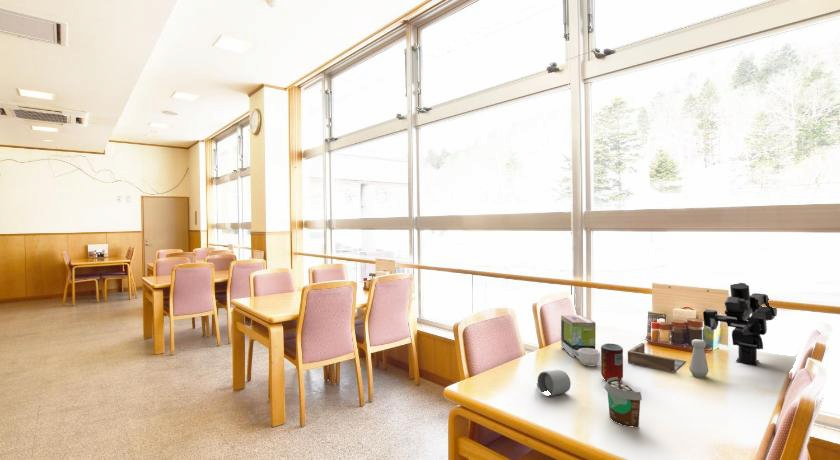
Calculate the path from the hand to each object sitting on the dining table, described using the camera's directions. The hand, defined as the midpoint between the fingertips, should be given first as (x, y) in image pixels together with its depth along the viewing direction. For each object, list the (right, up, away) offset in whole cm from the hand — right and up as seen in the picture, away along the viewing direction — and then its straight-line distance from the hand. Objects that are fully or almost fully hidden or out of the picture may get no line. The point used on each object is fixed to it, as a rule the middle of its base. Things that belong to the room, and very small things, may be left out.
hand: (726, 331), depth 152 cm
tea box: (-42, -17, +31) cm, 54 cm away
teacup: (-44, -17, +16) cm, 50 cm away
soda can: (-42, -17, -2) cm, 45 cm away
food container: (-54, -18, -32) cm, 65 cm away
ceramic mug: (-66, -18, -12) cm, 70 cm away
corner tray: (-15, -16, +17) cm, 28 cm away
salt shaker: (-9, -17, +1) cm, 19 cm away
